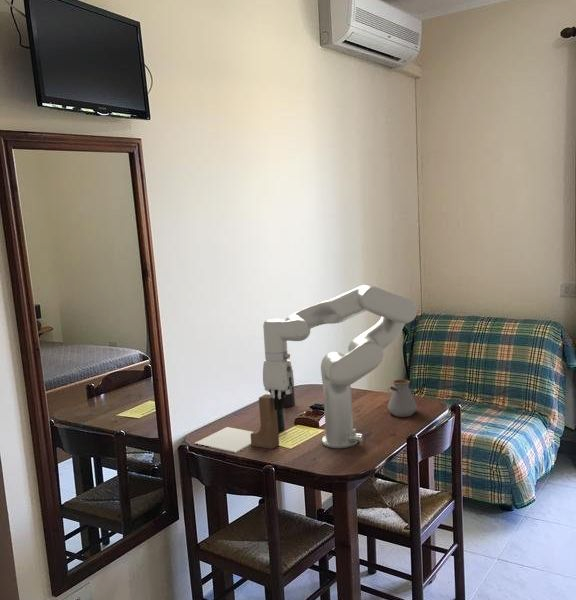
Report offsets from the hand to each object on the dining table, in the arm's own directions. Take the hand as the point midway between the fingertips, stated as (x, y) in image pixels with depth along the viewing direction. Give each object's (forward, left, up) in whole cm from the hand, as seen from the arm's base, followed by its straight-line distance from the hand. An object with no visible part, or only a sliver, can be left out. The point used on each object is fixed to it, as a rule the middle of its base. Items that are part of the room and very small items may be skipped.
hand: (279, 408), depth 207 cm
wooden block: (+7, 0, -15) cm, 16 cm away
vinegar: (+26, -41, -14) cm, 51 cm away
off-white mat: (+22, +1, -14) cm, 26 cm away
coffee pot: (-23, -46, -15) cm, 53 cm away
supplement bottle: (+13, -15, -15) cm, 25 cm away
